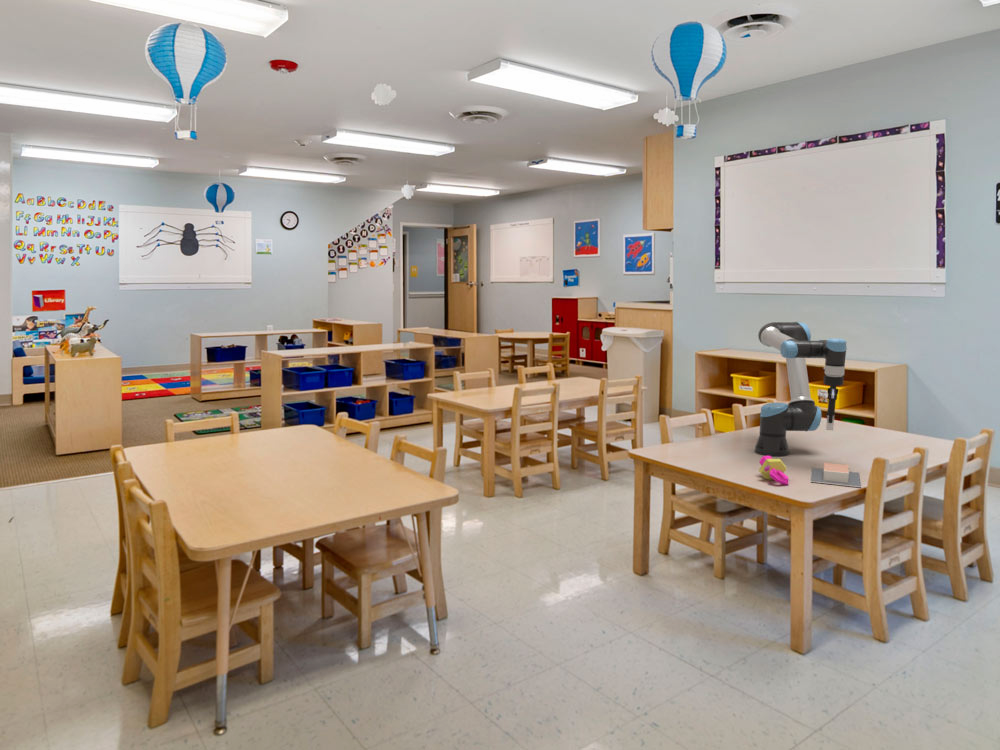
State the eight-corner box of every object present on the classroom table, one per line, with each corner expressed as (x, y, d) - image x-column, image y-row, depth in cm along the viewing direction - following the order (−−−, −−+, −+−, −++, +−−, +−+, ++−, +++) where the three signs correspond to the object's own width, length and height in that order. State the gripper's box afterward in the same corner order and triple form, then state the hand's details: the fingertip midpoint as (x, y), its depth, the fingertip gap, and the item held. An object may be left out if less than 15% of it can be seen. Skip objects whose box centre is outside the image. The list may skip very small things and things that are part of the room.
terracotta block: (824, 462, 293) (823, 470, 280) (848, 465, 289) (848, 473, 276) (823, 471, 293) (823, 480, 281) (847, 474, 289) (848, 483, 277)
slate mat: (812, 469, 300) (812, 467, 300) (859, 474, 292) (859, 472, 292) (810, 482, 280) (810, 480, 280) (861, 488, 272) (861, 486, 272)
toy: (766, 488, 276) (780, 467, 272) (747, 464, 292) (760, 444, 289) (786, 496, 279) (801, 475, 275) (766, 471, 295) (780, 452, 291)
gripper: (824, 372, 302) (819, 425, 306) (824, 377, 290) (819, 432, 294) (843, 373, 299) (838, 427, 303) (844, 378, 287) (839, 434, 291)
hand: (829, 429), depth 298 cm, fingers closed
